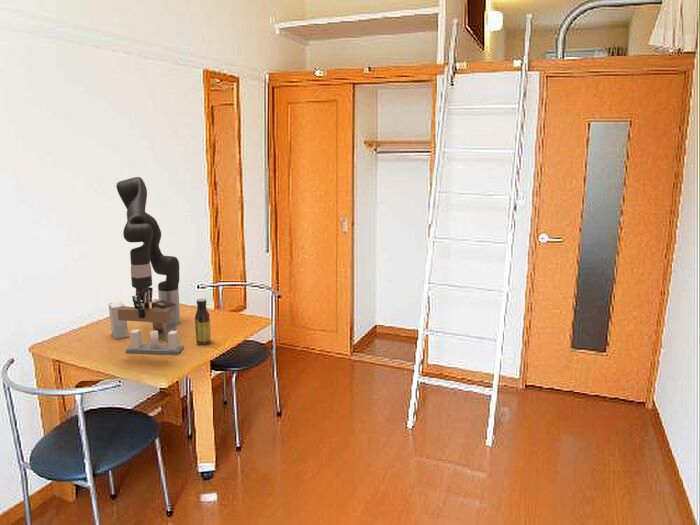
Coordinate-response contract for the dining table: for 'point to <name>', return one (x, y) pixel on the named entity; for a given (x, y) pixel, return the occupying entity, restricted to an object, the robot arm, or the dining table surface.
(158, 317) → the frame bar
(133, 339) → the stand
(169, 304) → the coffee box
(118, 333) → the skincare box
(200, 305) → the sauce bottle
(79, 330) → the dining table surface
